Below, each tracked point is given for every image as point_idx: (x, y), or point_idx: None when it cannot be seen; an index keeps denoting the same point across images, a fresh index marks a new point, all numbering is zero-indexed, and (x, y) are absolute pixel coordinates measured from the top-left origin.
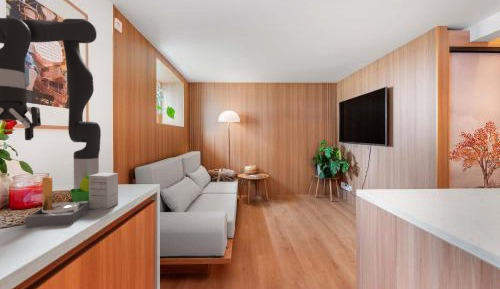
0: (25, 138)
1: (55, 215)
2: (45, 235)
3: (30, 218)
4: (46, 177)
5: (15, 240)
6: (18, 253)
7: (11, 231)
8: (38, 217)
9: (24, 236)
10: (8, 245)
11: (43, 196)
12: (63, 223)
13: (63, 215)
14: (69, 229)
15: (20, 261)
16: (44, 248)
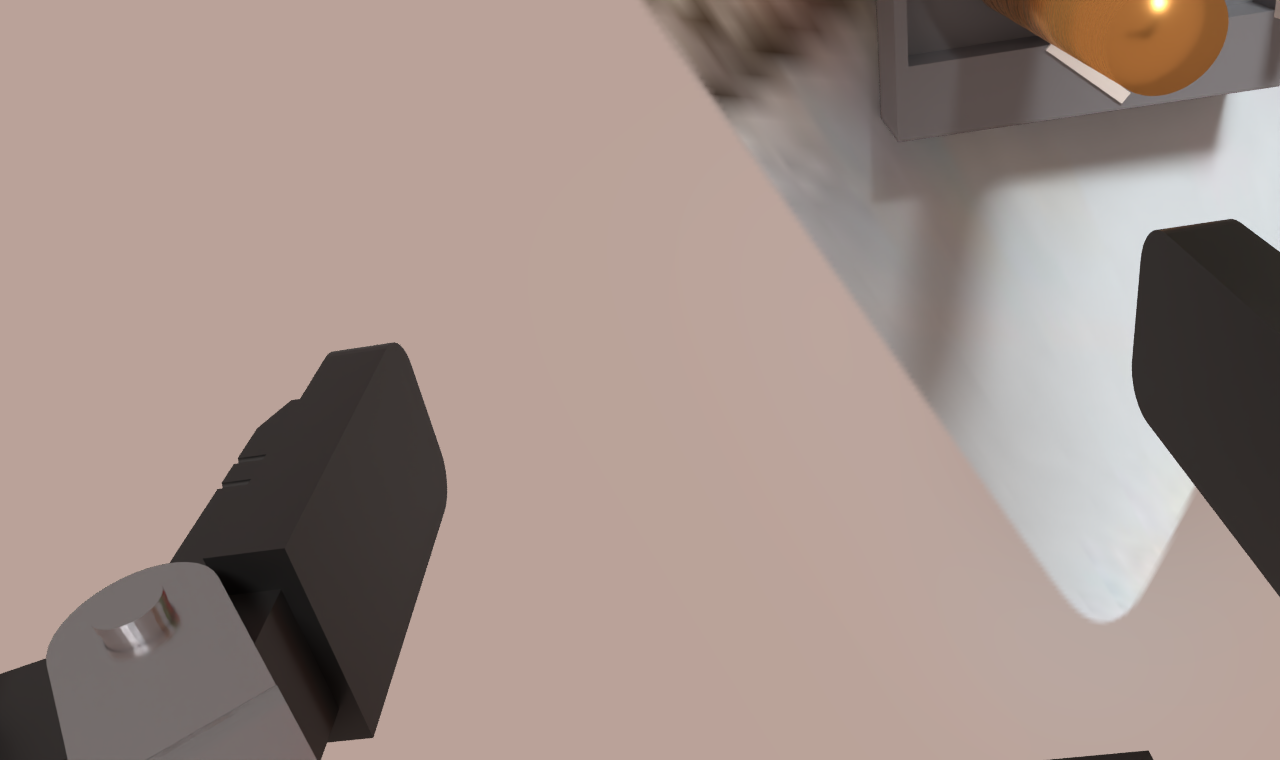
0: (1163, 426)
1: (1130, 102)
2: (1102, 286)
3: (931, 133)
4: (1152, 31)
5: (951, 348)
6: (1063, 503)
7: (825, 192)
8: (993, 124)
9: (971, 291)
10: (954, 411)
11: (1040, 37)
12: None
13: (1196, 95)
14: (1235, 188)
15: (1115, 573)
16: (1172, 463)
